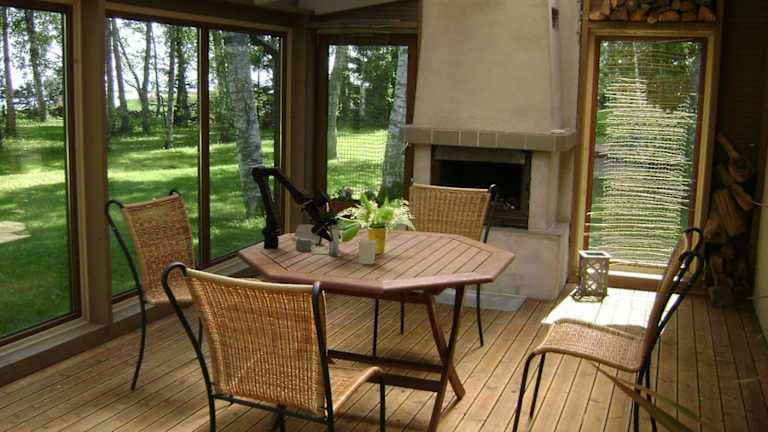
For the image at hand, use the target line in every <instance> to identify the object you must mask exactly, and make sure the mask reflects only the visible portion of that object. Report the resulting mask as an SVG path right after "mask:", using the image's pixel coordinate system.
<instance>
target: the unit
mask: <svg viewBox="0 0 768 432" xmlns="http://www.w3.org/2000/svg"><path fill="white" fill-rule="evenodd" d="M311 250H312V245H311V239H300V238H298V239H296V242H295V251H301V252H304V251H306V252H308V251H309V252H311Z"/></svg>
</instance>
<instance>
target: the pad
mask: <svg viewBox="0 0 768 432" xmlns="http://www.w3.org/2000/svg"><path fill="white" fill-rule="evenodd" d="M310 253H311V255H329V249H311V251H310Z"/></svg>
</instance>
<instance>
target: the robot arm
mask: <svg viewBox="0 0 768 432" xmlns="http://www.w3.org/2000/svg"><path fill="white" fill-rule="evenodd" d="M250 174H251V176H252V179H253V181H254V182H255V183H256V185H257V186H258V190H259V193H260V196H261V199H262V204H263V207H264V211H265V215H266V217H265V227H264V228H263V229H262V230H261V231H260V232H261V235H262V236H263V249H278V247H279V240H280V239H279V236H278V235H279V234H280V233H281V231H282V230H283V228H284V224H285V222H284V219H283V216H282V214H278V213H277V210H276V206H275V202H274V199H273V196H272V192H271V189H270V185H269V181H270V177H273V178H275V179H276V180H277V181H278V183H280V185H282V186H283V187H284V188H285V189H286V190H287V191H288V192H289V194H290V195H291V198H292V199H293V201H294V203H296V205H299V206H301V207H300V214H302V213H306V214H307V215H308V217H309V218H310V221H311V223H313V224H314V225H313V226H314V227H312V228H311V232H312V233H313V235H314V234H315V235H317V236H319V237H322V238H323V239H324V240H326V241H327V242H329V241H330V242H332V241H333V240H332V238H331V237H330V235H329V234H330V225H338V226H339V222H340V221H339V220H338V218H336V217H337V216H338V210H336V209H335V208H334V207H332V208H330V209H329V210H328V211H326V212H325V211H323V210H321V209H323V207H324V206H326V205H327V203H329V202H330V201H331V200H332V198H331V196H330V194H329V193H328V192H326V191H324V190H323V189H321V188H320V189H318V190H317V192H316V193H315V194H314V195H313V194H310V192H308V191H307V190H305V189H304V188H302V187H300V186H298V185H297V184H296V183H295V182H294V181H293V180H292V179H291V178H290V177H289V176H288V175H287V174H286V173H284V171H283V170H282V169H281V168H280V167H279V166H275V167H267V166H264V165H261V166H255V167H253V168H252V169H251V172H250ZM302 205H304V206H302ZM340 239H342V236H341V234H340V232H339V240H340Z"/></svg>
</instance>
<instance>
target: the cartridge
mask: <svg viewBox="0 0 768 432" xmlns="http://www.w3.org/2000/svg"><path fill="white" fill-rule="evenodd" d="M340 228H341V227H340V225H339V224H338V225H330V232H329V233H328V234H329V235H330V237H331V238H332V240H333V241H332V242H330V241H328V253H329V254H328V256H329V257H331V258H332V257H339V246H340V242H339V240H340V239H339V233H340Z"/></svg>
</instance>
